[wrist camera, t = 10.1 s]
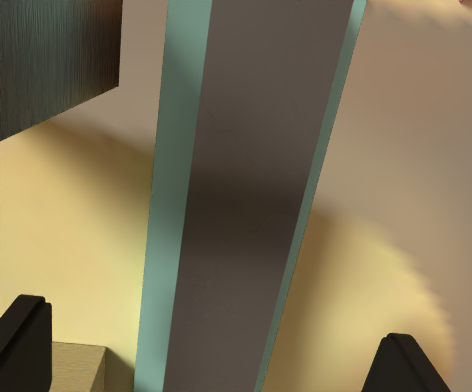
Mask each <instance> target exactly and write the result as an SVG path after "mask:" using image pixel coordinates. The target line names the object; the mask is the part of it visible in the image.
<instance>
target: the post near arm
mask: <svg viewBox="0 0 472 392" xmlns="http://www.w3.org/2000/svg"><path fill="white" fill-rule="evenodd" d="M105 355H106V347H101V346H90V345H79V344H68V343H58V342H52V383H51V387H50V390H49V392H104V375H105Z"/></svg>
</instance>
